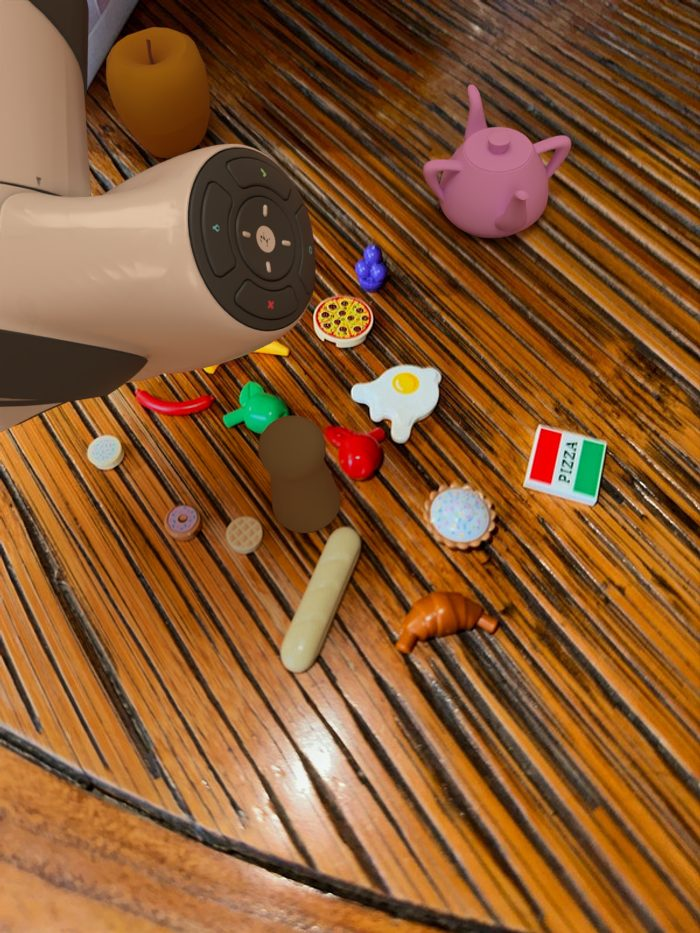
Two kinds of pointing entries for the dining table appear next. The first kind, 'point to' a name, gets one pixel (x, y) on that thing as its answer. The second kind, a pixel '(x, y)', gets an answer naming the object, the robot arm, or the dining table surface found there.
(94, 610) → the dining table surface
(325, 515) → the cork
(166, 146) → the apple
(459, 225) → the teapot
